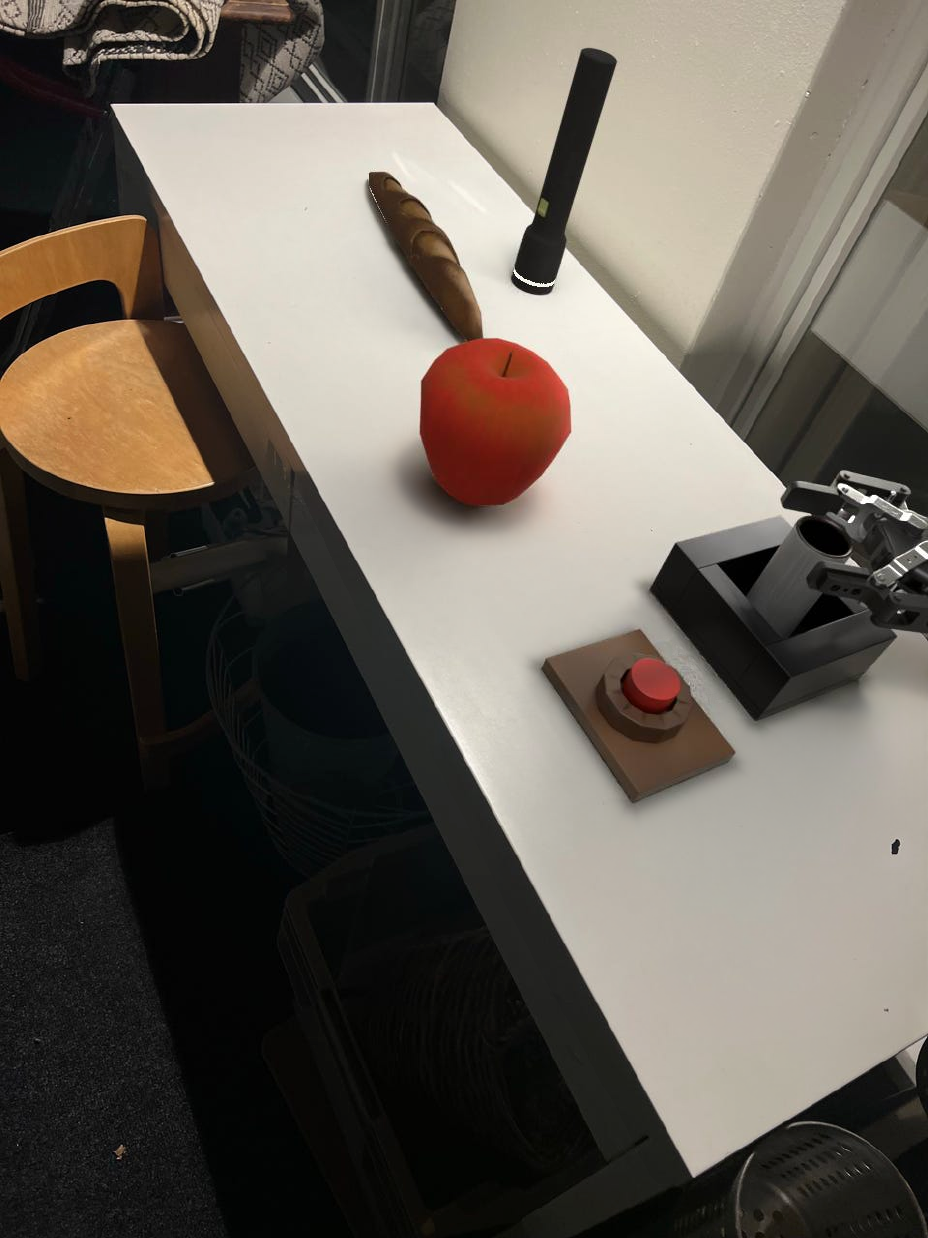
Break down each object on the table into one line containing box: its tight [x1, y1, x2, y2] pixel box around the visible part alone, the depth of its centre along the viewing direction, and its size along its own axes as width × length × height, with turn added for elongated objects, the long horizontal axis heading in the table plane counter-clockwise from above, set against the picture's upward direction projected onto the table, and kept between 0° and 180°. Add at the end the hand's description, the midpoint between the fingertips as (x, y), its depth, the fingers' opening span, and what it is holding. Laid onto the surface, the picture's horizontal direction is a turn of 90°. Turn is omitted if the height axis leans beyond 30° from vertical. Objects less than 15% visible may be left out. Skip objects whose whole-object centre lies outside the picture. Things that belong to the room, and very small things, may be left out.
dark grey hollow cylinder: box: [746, 514, 855, 640], centre depth 70 cm, size 4×4×10 cm
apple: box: [419, 337, 572, 508], centre depth 73 cm, size 12×12×14 cm
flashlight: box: [510, 47, 618, 296], centre depth 96 cm, size 5×24×5 cm
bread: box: [368, 171, 484, 342], centre depth 100 cm, size 38×5×5 cm, turn 21°
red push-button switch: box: [541, 628, 736, 803], centre depth 65 cm, size 12×9×3 cm
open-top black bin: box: [649, 514, 898, 721], centre depth 72 cm, size 14×12×6 cm
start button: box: [623, 658, 680, 714], centre depth 63 cm, size 4×4×2 cm
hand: (798, 532), depth 66 cm, fingers open, 8 cm apart
